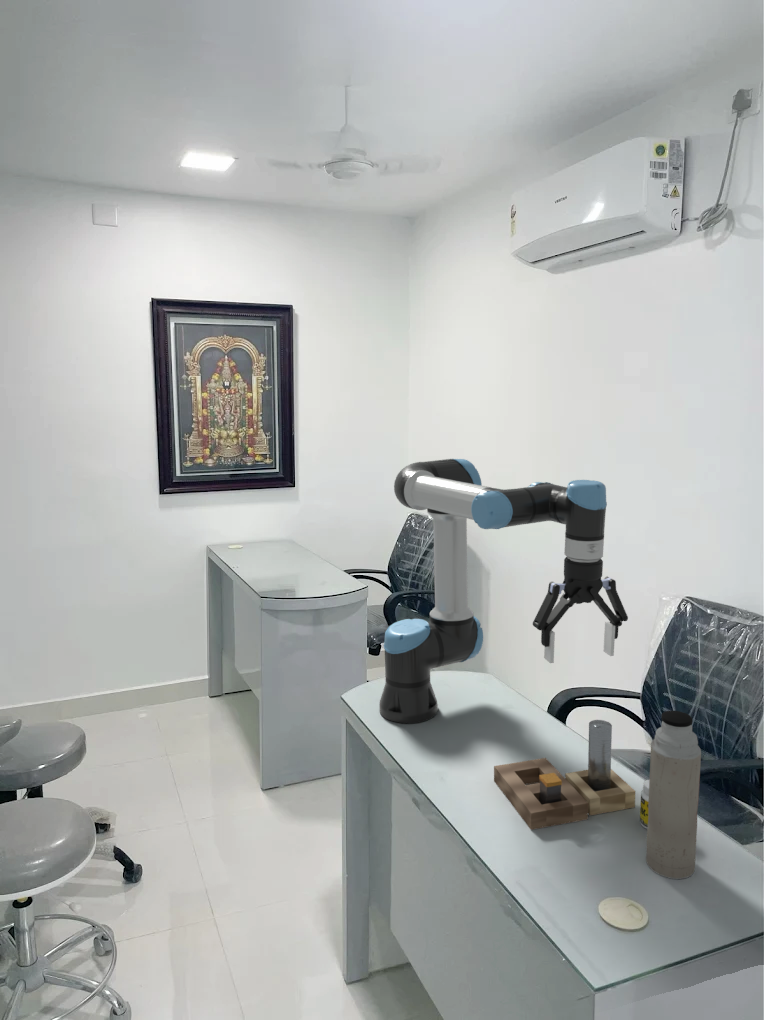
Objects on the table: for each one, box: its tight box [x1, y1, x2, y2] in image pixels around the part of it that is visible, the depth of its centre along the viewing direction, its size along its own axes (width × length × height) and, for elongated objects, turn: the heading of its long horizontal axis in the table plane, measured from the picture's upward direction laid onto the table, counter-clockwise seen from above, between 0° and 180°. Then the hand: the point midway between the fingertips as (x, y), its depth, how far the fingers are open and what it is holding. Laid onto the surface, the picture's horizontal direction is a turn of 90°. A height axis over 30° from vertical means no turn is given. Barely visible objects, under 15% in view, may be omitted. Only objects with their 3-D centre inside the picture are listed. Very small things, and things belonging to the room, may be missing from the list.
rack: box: [564, 768, 636, 816], centre depth 150 cm, size 10×10×4 cm
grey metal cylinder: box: [587, 719, 613, 792], centre depth 149 cm, size 4×4×16 cm
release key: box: [539, 773, 562, 805], centre depth 145 cm, size 3×3×7 cm
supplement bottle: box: [639, 779, 649, 830], centre depth 140 cm, size 5×5×8 cm
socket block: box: [493, 757, 589, 831], centre depth 150 cm, size 18×12×4 cm, turn 14°
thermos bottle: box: [645, 710, 702, 880], centre depth 127 cm, size 8×8×28 cm
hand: (579, 657), depth 152 cm, fingers open, 13 cm apart
